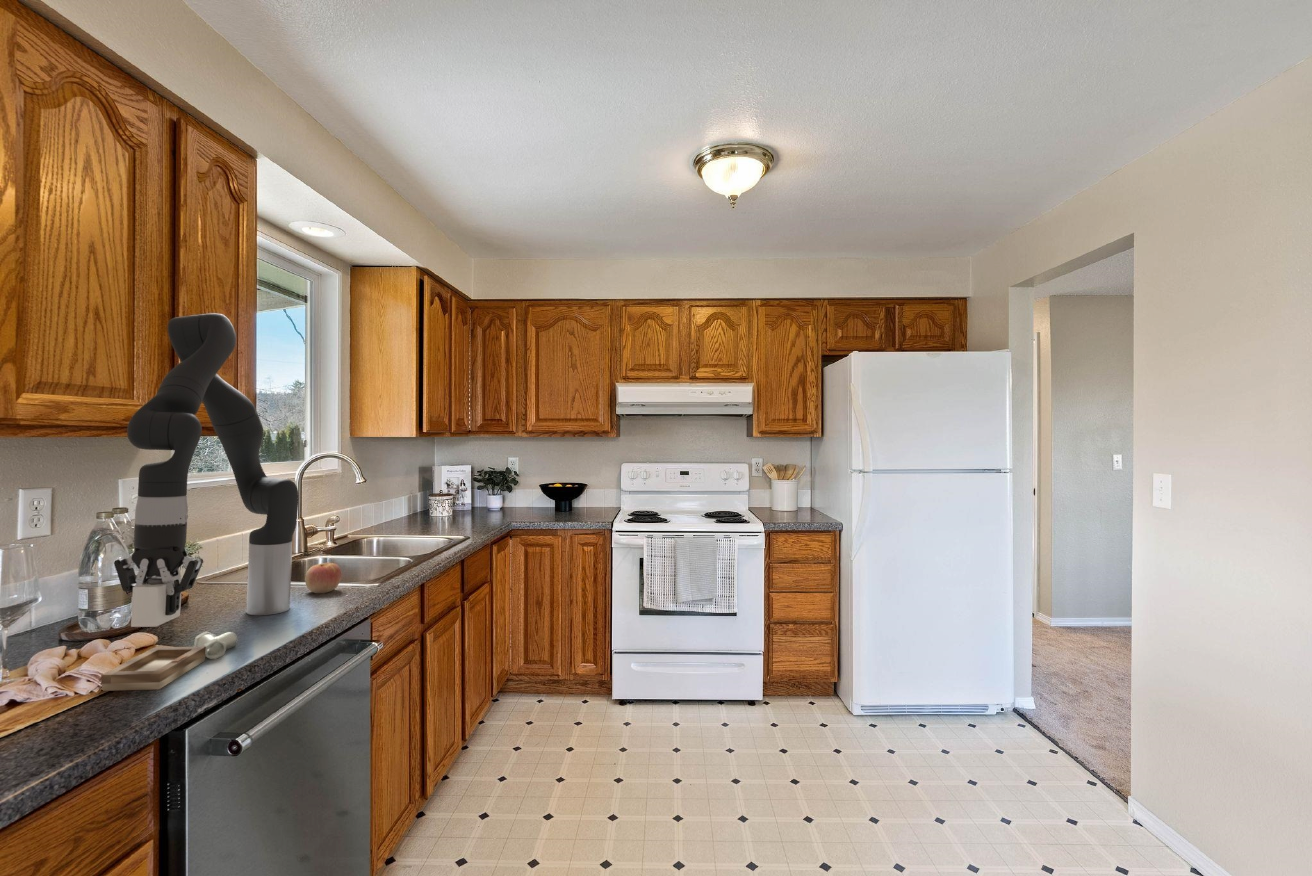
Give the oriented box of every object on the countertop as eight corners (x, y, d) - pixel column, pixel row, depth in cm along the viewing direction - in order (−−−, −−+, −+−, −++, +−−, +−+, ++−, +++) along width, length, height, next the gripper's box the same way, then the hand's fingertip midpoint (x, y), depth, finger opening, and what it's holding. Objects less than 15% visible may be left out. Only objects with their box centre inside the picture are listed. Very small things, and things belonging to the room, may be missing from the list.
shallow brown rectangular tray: (153, 661, 119) (154, 646, 119) (205, 660, 120) (205, 645, 120) (100, 690, 105) (101, 673, 105) (159, 689, 106) (160, 672, 106)
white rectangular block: (130, 626, 109) (133, 582, 109) (156, 615, 116) (158, 574, 116) (156, 626, 109) (158, 582, 110) (180, 615, 116) (182, 574, 116)
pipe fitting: (231, 646, 130) (193, 651, 125) (234, 627, 131) (195, 631, 125) (243, 656, 125) (203, 661, 120) (246, 636, 125) (206, 641, 120)
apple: (346, 590, 176) (347, 562, 176) (318, 597, 168) (319, 568, 168) (325, 586, 180) (326, 559, 180) (297, 593, 172) (298, 564, 172)
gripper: (102, 522, 108) (98, 620, 108) (192, 523, 110) (187, 619, 110) (132, 517, 115) (127, 608, 115) (215, 518, 118) (211, 608, 117)
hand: (157, 613), depth 113 cm, fingers closed on white rectangular block, 4 cm apart
